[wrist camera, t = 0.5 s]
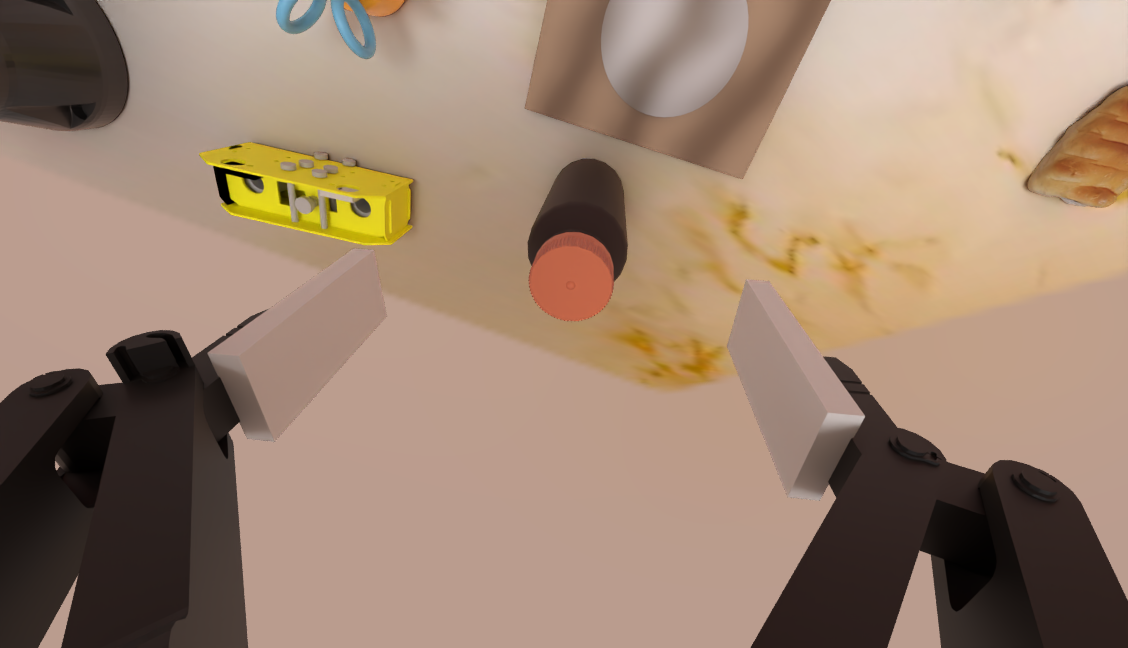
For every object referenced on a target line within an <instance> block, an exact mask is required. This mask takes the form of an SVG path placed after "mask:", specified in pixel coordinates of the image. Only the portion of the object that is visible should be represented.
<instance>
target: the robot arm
mask: <svg viewBox="0 0 1128 648" xmlns="http://www.w3.org/2000/svg"><path fill="white" fill-rule="evenodd" d="M127 85H128V83H127V72H126V66H125V62H124V58H123V55H122V51H121V48H120V46H119V43H118V41H117V38H116V36H115V34H114V32H113V30H112V28H111V26H110V24H109V22H108V20H107V19H106V17H105V15H104V14H103V12H102V10H101V9H100V7H99V6H98V4H97V3H96V2H95V0H0V121H2V122H8V123H14V124H20V125H26V126H32V127H38V128H45V129H51V130H58V131H75V130H83V129H91V128H98V127H102V126H104V125H107V124H109V123H110V122H112V121H113V120H114V119H115V118H116V117H117V116H118V115H119V114H120V112H121V111H122V109H123V106H124V104H125V101H126V96H127ZM386 317H387V314H386V309H385V304H384V299H383V293H382V288H381V283H380V278H379V273H378V268H377V262H376V257H375V252H374V250H369V249H357V248H353V249H352V250H350V251H349V252H348V253H346V254H345V255H343V256H342V257H341V258H339V259H338V260H336V261H335V262H334V263H332V264H331V265H329V266H328V267H327V268H325V269H324V270H322V271H321V272H320V273H318V274H317V275H316V276H314V277H313V278H311V279H310V280H309V281H307V282H306V283H304V284H303V285H302V286H300V287H299V288H297V289H296V290H295V291H293V292H292V293H290V294H289V295H288V296H286V297H285V298H284V299H282V300H281V301H279V302H278V303H276V304H275V305H274V306H272V307H271V308H269V309H267V310H265V311H262V312H260V313H258V314H255V315H253V316H251V317H249V318H248V319H246V320H245V321H244V322H242V323H241V324H239V325H238V326H237V328H234V329H232V330H231V331H230V332H228V333H226V336H222V337H221V338H219V339H218V340H216V341H215V342H214V343H212V344H211V345H209V346H208V347H207V348H205V349H204V350H202V351H201V352H199V353H198V354H196V355H195V356H194V357H192V358H191V356H190V354H189V351H188V350H187V347H186V345H185V344H184V341H183V340H182V337H181V336H180V333H178V332H175V331H170V330H159V331H152V332H147V333H143V334H140V335H136V336H132V337H130V338H128V339H125V340H123V341H121V342H119V343H118V344H116V345H114V346H113V347H111V348H110V349H109V350H108V352H107V353H106V356H107V358H108V359H109V361H110V362H111V364H112V366H113V367H114V369H115V371H116V372H117V374H118V375H119V377H120V379H121V380H122V382H123V383H115V384H105V385H98V384H97V382H96V381H95V379H94V378H93V376H92V375H91V373H90V372H89V371H88V370H84V369H66V370H61V371H53V372H49V373H46V375H40V376H37V377H35V378H33V380H31V381H29V382H26V383H25V384H23V385H21V386H19V387H18V388H17V389H15V390H14V391H12V392H11V393H10V394H9V395H8V396H7V397H6V398H5V399H4V400H3V401H2V402H1V403H0V648H38V647H39V645H40V643H41V641H42V639H43V638H44V636H45V634H46V632H47V630H48V629H49V627H50V625H51V623H52V621H53V620H54V617H55V616H56V614H57V612H58V610H59V609H60V607H61V605H62V603H63V601H64V599H65V598H66V596H67V594H68V592H69V590H70V589H71V587H72V585H73V583H74V581H75V579H76V577H77V576H78V579H77V583H76V587H75V592H74V596H73V600H72V605H71V609H70V613H69V617H68V621H67V625H66V630H65V634H64V638H63V642H62V647H61V648H248V641H247V626H246V613H245V599H244V586H243V571H242V558H241V545H240V544H241V543H240V529H239V516H238V502H237V490H236V474H235V460H234V446H233V441H232V439H231V437H230V435H229V433H228V432H229V431H230V430H231V429H233V427H235V425H237V424H238V423H239V422H240V425H241V427H242V429H243V431H244V433H245V435H246V437H247V439H254V440H263V441H272V442H275V441H276V440H277V438H279V437H280V435H281V434H282V433H283V432H284V431H285V430H286V429H287V428H288V426H289V425H290V424H291V423H292V422H293V421H294V420H295V418H297V416H298V415H299V414H300V413H301V412H302V411H303V409H305V407H306V406H307V405H308V404H309V403H310V402H311V401H312V400H313V398H314V397H315V396H316V395H317V394H318V393H319V392H320V391H321V389H322V388H323V387H324V386H325V385H326V384H327V383H328V382H329V380H330V379H331V378H332V377H333V376H334V375H335V374H336V373H337V371H338V370H339V369H340V368H341V367H342V366H343V365H344V364H345V363H346V361H347V360H348V359H349V358H350V357H351V356H352V355H353V353H354V352H355V351H356V350H357V349H358V348H359V347H360V346H361V345H362V343H363V342H364V341H365V340H366V339H367V338H368V337H369V336H370V334H371V333H372V332H373V331H374V330H375V329H376V328H377V327H378V325H379V324H380V323H381V322H382V321H383V320H384V319H385V318H386ZM727 347H728V350H729V352H730V355H731V357H732V360H733V362H734V365H735V367H736V370H737V372H738V375H739V377H740V380H741V382H742V385H743V387H744V390H745V392H746V395H747V397H748V400H749V402H750V405H751V407H752V410H753V412H754V415H755V417H756V420H757V422H758V425H759V427H760V430H761V432H762V435H763V437H764V440H765V442H766V445H767V447H768V450H769V452H770V455H771V457H772V460H773V462H774V465H775V467H776V470H777V472H778V475H779V477H780V480H781V482H782V485H783V487H784V490H785V492H786V495H787V497H791V498H801V499H809V500H819V501H820V499H821V497H822V496H823V494H824V492H825V490H826V488H827V486H828V484H829V485H830V487H831V489H832V490H833V492H834V494H835V496H836V500H835V502H834V503H833V505H832V507H831V509H830V510H829V512H828V514H827V515H826V517H825V519H824V521H823V523H822V524H821V526H820V528H819V530H818V531H817V533H816V535H815V536H814V538H813V540H812V542H811V543H810V545H809V547H808V549H807V550H806V552H805V554H804V556H803V557H802V559H801V561H800V563H799V564H798V566H797V568H796V570H795V571H794V573H793V575H792V576H791V578H790V580H789V582H788V584H787V585H786V587H785V589H784V590H783V592H782V594H781V596H780V597H779V599H778V601H777V603H776V604H775V606H774V608H773V609H772V611H771V613H770V615H769V617H768V618H767V620H766V622H765V623H764V625H763V627H762V629H761V630H760V632H759V634H758V636H757V637H756V639H755V641H754V643H753V644H752V646H751V648H887V647H888V644H889V640H890V638H891V635H892V632H893V629H894V625H895V623H896V619H897V616H898V614H899V611H900V607H901V604H902V601H903V598H904V595H905V592H906V589H907V586H908V583H909V580H910V577H911V574H912V571H913V568H914V565H915V562H916V559H917V556H918V553H919V550H920V551H923V552H925V553H928V554H931V560H932V569H933V577H934V586H935V595H936V604H937V614H938V622H939V631H940V640H941V648H1128V600H1127V598H1126V596H1125V594H1124V592H1123V590H1122V588H1121V585H1120V583H1119V581H1118V579H1117V577H1116V575H1115V573H1114V571H1113V569H1112V567H1111V564H1110V562H1109V560H1108V558H1107V556H1106V554H1105V552H1104V550H1103V548H1102V546H1101V544H1100V541H1099V539H1098V537H1097V535H1096V533H1095V531H1094V529H1093V527H1092V525H1091V522H1090V521H1089V518H1088V516H1087V514H1086V512H1085V510H1084V508H1083V506H1082V504H1081V502H1080V501H1079V499H1078V498H1077V497H1076V495H1075V494H1074V493H1073V492H1072V491H1071V490H1070V489H1069V488H1068V487H1066V486H1065V485H1064V484H1063V483H1062V482H1060V481H1059V480H1058V479H1056V478H1055V477H1053V476H1052V475H1049V474H1048V473H1046V472H1044V471H1042V470H1040V469H1037V468H1034V467H1032V466H1030V465H1027V464H1024V463H1020V462H1016V461H1012V460H1000V461H998V462H996V463H994V464H993V465H992V466H991V467H990V468H989V470H988V471H987V472H986V473H985V474H984V473H981V472H978V471H975V470H971V469H968V468H965V467H961V466H958V465H955V464H952V463H948V462H946V458H945V457H944V455H943V454H942V453H941V451H940V450H939V449H938V448H937V447H935V446H934V445H933V444H932V443H931V442H929V441H928V440H926V439H925V438H923V437H921V436H919V435H917V434H916V433H913V432H910V431H907V430H905V429H901V428H897V427H896V425H895V424H894V423H893V421H892V420H891V419H890V418H889V416H888V415H887V414H886V412H885V411H884V410H883V409H882V407H881V406H880V405H879V404H878V402H877V401H876V400H875V398H874V397H873V396H872V395H870V392H869V391H868V389H867V388H866V387H865V385H863V384H862V382H861V380H860V379H859V378H858V376H857V375H856V374H855V373H854V371H853V370H852V369H851V368H849V367H848V366H847V365H845V364H844V363H842V362H841V361H840V360H838V359H837V358H834V357H823V356H822V355H821V353H820V352H819V351H818V349H817V348H816V346H815V345H814V344H813V342H812V341H811V339H810V338H809V337H808V335H807V334H806V332H805V331H804V330H803V328H802V327H801V325H800V324H799V323H798V321H797V320H796V318H795V317H794V315H793V314H792V313H791V311H790V310H789V308H788V307H787V306H786V304H785V303H784V301H783V300H782V299H781V297H780V296H779V294H778V293H777V292H776V290H775V289H774V287H773V286H772V285H771V283H770V282H769V281H761V280H748V279H746V281H745V285H744V288H743V292H742V295H741V299H740V302H739V306H738V309H737V313H736V316H735V320H734V323H733V327H732V330H731V334H730V337H729V341H728V344H727ZM55 461H56V462H57V463H58V465H59V466H60V467H59V468H58V470H57V471H56V469H55ZM78 574H79V575H78Z"/></svg>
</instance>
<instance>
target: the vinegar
mask: <svg viewBox="0 0 1128 648" xmlns="http://www.w3.org/2000/svg"><path fill="white" fill-rule="evenodd" d="M627 247H628V243H627V231H626V218H625V205H624V193H623V188H622V184H621V180H620V178H619V177H618V175H617V174H616V172H615V171H614V170H613V169H612V168H611V167H610V166H608V165H607V164H606V163H604V162H601V161H598V160H595V159H581V160H578V161H575V162H572V163H570V164H569V165H568V166H566V167H565V168H564V169H562V171H561V172H560V174H559V175H558V177H557V178H556V180H555V182H554V184H553V186H552V188H551V190H550V192H549V194H548V196H547V198H546V200H545V202H544V204H543V206H542V208H541V210H540V212H539V214H538V216H537V218H536V220H535V222H534V225H533V227H532V229H531V233H530V236H529V240H528V258H529V261H530V263H531V266H532V267H531V270H530V273H529V274H530V275H529V284H530V286H529V288H530V291H531V294H532V297H534V300H535V301H536V302H535V303H537V304H538V305H539V306H540V308H542V310H544V311H545V313H546V312H547V313H548V314H550V315H551V316H553V317H554V318H555V317H556V318H557V319H558V318H559V319H560V320H561V319H562V320H564V321H565V320H567V321H568V320H571V321H579V320H581V321H582V319H586V318H588V319H589V317H592V316H593V315H594V316H595V314H598V312H600V310H601V309H602V310H603V307H605V305H607V302H609V299H611V296H612V293H613V286H614V281H615V280H616V279H617V278H618V277H619V276H620V274H621V272H622V270H623V267H624V265H625V263H626V260H627Z"/></svg>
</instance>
